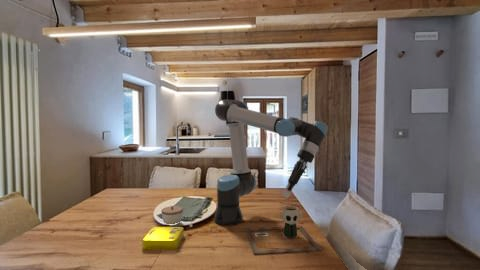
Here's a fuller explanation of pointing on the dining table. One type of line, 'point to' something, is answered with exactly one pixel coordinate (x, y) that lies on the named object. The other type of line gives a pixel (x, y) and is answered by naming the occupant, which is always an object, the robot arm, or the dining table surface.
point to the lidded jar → (172, 214)
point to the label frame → (314, 244)
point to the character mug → (290, 220)
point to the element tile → (163, 238)
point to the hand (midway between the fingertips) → (284, 196)
